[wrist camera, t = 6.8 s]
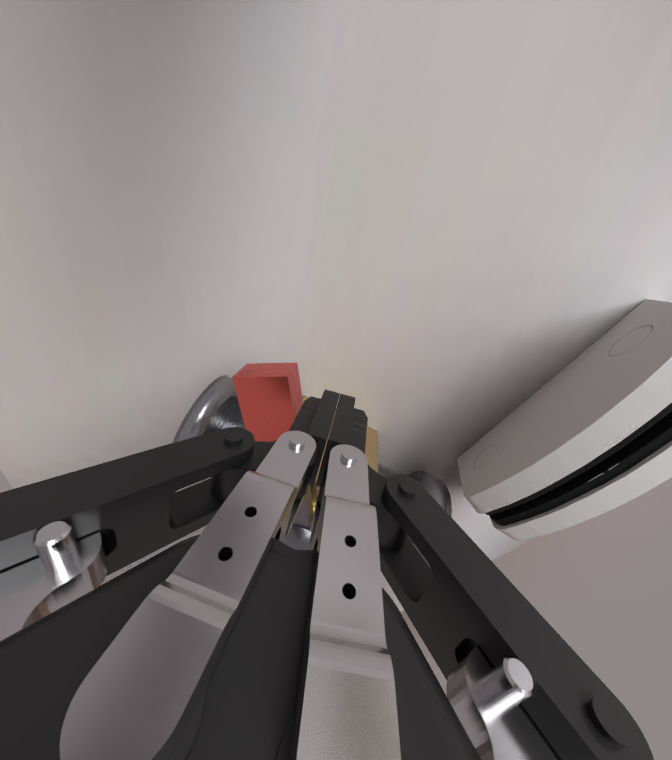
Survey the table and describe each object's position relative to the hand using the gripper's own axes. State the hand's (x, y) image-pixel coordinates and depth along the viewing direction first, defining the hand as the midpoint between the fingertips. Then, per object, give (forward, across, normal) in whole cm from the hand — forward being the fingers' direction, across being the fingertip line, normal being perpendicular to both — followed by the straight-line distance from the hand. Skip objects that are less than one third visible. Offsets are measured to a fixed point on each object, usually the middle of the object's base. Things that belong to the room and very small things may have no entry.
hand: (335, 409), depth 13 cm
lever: (0, +2, +5) cm, 5 cm away
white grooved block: (+9, -15, 0) cm, 18 cm away
